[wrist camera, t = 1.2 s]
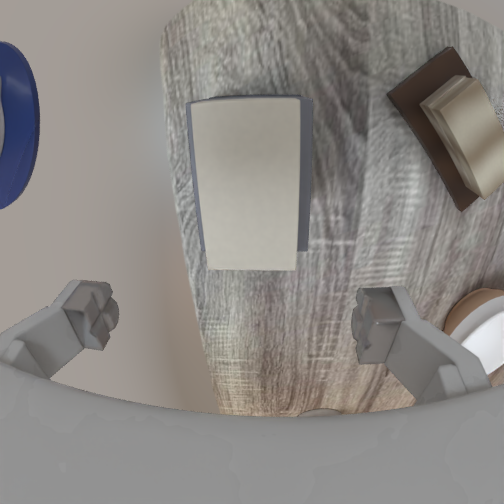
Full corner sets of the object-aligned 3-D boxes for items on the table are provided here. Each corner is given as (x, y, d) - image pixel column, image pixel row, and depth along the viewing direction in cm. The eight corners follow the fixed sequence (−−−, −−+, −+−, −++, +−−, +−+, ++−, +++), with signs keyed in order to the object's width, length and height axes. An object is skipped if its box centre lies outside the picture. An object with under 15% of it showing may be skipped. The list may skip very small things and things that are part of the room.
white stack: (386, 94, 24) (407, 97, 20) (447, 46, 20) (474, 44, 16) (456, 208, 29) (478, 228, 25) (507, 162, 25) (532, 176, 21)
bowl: (449, 359, 44) (463, 393, 37) (414, 322, 39) (432, 363, 32) (514, 306, 37) (535, 336, 30) (495, 254, 32) (524, 287, 25)
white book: (200, 101, 17) (190, 103, 15) (296, 98, 17) (300, 99, 15) (213, 251, 23) (207, 270, 21) (294, 251, 22) (296, 271, 20)
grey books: (213, 96, 26) (185, 102, 17) (299, 94, 25) (313, 98, 17) (221, 201, 31) (201, 251, 23) (298, 201, 31) (307, 251, 22)
